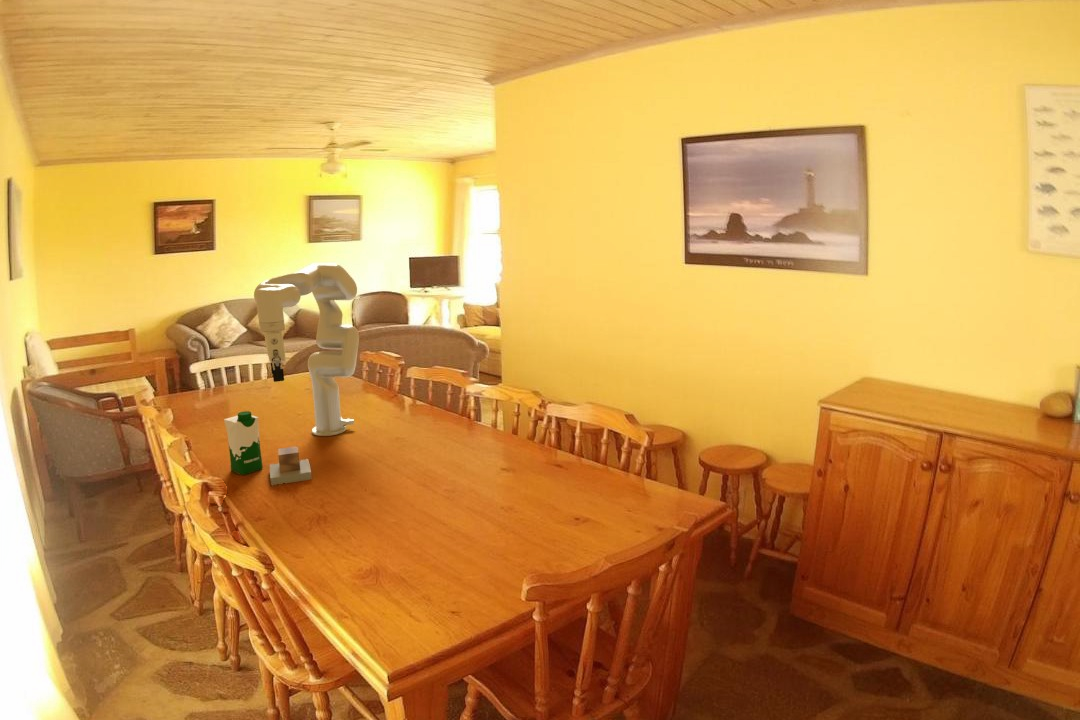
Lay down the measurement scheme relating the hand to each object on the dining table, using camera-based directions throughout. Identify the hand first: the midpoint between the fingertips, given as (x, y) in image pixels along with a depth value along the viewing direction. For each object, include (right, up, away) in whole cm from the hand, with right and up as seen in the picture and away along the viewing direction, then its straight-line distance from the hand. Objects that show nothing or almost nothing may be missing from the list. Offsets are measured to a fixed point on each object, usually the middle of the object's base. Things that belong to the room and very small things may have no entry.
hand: (278, 377), depth 209 cm
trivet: (+5, -32, -3) cm, 32 cm away
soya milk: (-11, -31, +1) cm, 33 cm away
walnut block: (+5, -29, -4) cm, 30 cm away
